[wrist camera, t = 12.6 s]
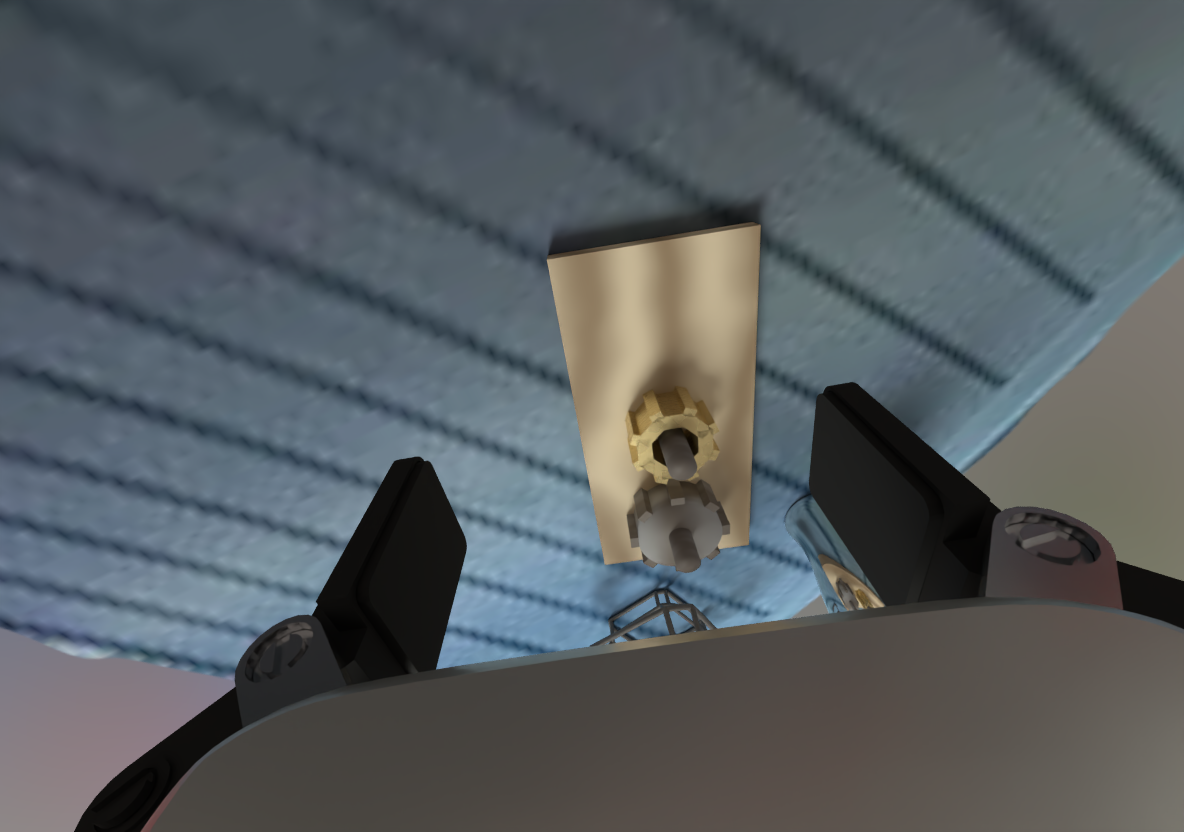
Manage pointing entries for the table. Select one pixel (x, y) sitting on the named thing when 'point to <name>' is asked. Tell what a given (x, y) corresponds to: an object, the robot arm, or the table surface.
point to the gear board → (664, 384)
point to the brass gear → (667, 415)
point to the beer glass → (830, 559)
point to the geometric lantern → (655, 613)
